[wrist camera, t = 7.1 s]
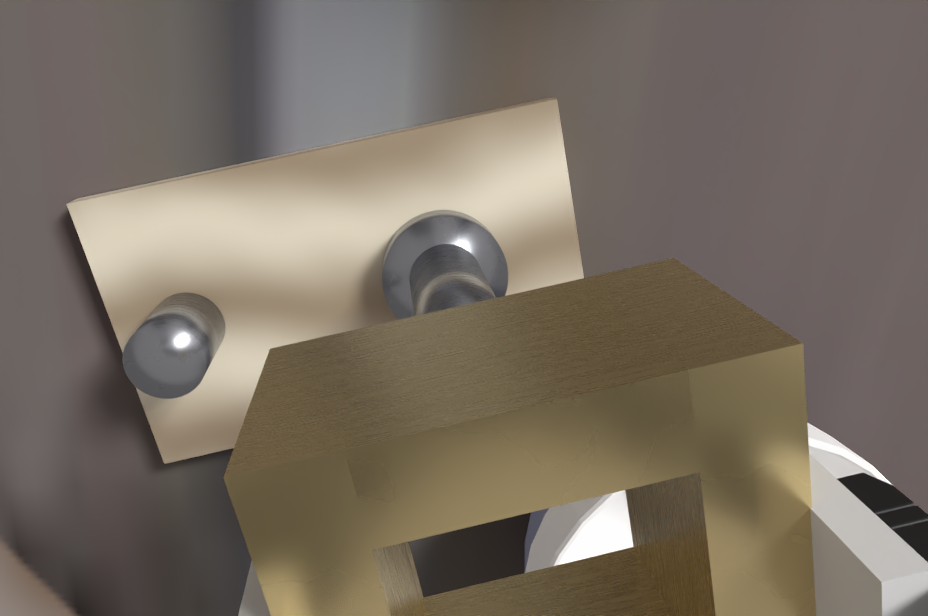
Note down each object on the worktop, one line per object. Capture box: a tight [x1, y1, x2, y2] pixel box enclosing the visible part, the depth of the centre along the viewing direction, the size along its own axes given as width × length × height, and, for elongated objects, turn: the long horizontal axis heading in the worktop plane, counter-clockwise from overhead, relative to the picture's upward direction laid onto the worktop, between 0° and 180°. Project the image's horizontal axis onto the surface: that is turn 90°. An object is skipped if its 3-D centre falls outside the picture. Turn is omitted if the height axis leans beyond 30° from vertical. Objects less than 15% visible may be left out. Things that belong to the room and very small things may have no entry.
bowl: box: [525, 423, 892, 573], centre depth 34 cm, size 16×16×10 cm
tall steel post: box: [382, 210, 508, 320], centre depth 27 cm, size 5×5×12 cm
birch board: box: [67, 97, 584, 464], centre depth 33 cm, size 12×20×1 cm, turn 101°
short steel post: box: [122, 292, 226, 399], centre depth 30 cm, size 3×3×4 cm
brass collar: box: [223, 258, 816, 616], centre depth 14 cm, size 8×8×5 cm
